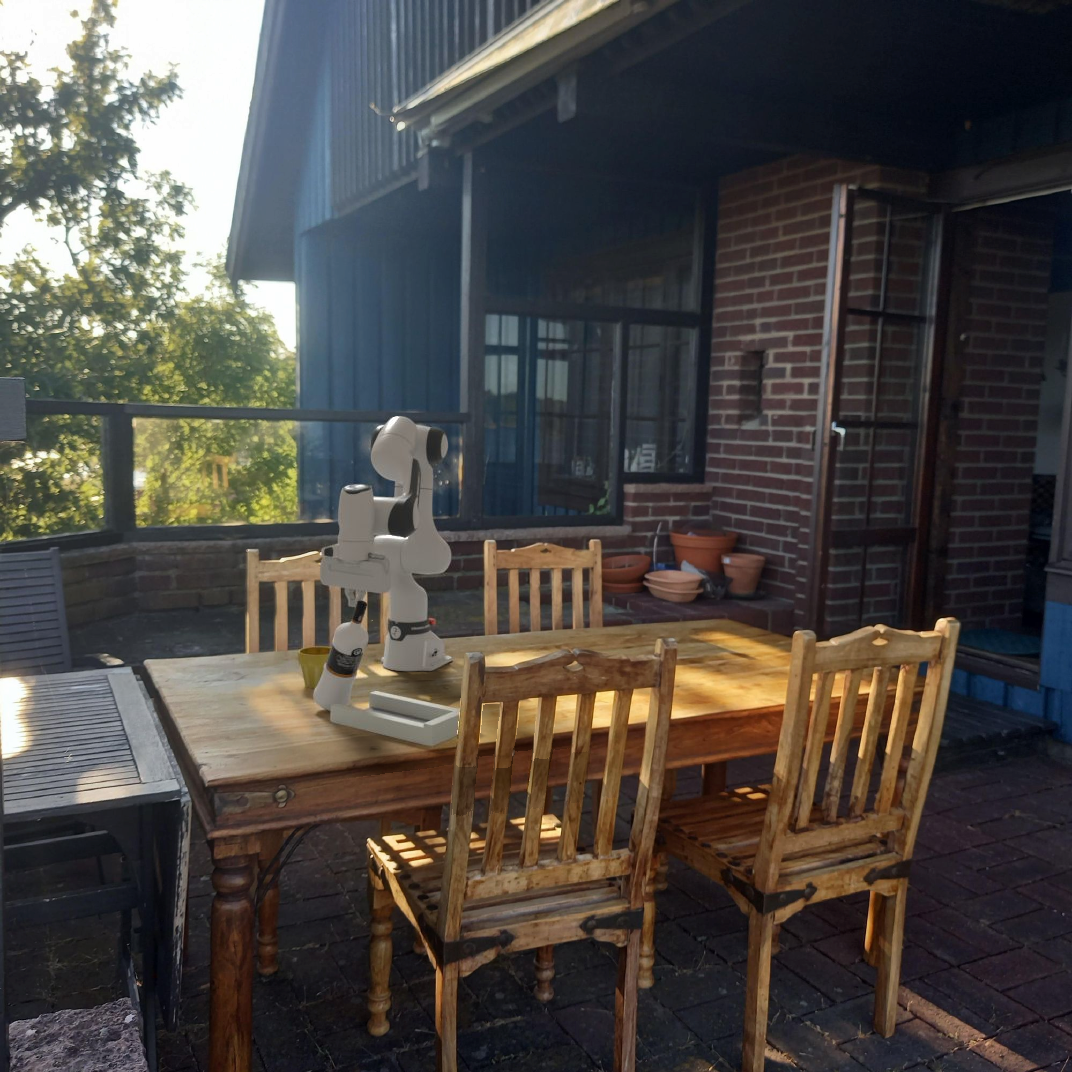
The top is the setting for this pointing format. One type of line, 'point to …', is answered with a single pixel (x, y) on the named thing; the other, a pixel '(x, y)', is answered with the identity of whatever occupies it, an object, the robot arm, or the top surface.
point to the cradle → (401, 718)
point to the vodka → (342, 661)
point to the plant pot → (313, 663)
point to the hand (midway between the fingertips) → (355, 606)
